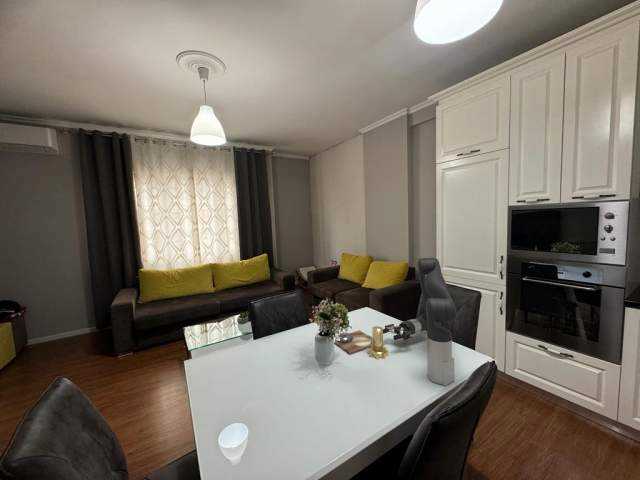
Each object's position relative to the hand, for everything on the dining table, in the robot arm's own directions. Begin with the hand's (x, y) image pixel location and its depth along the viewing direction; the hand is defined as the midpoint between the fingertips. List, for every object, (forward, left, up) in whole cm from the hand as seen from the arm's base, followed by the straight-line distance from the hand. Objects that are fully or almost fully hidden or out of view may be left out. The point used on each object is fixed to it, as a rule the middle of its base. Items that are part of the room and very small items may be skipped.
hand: (387, 334), depth 129 cm
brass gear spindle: (0, +7, -8) cm, 10 cm away
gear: (+20, +13, -7) cm, 25 cm away
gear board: (+16, +9, -8) cm, 20 cm away
